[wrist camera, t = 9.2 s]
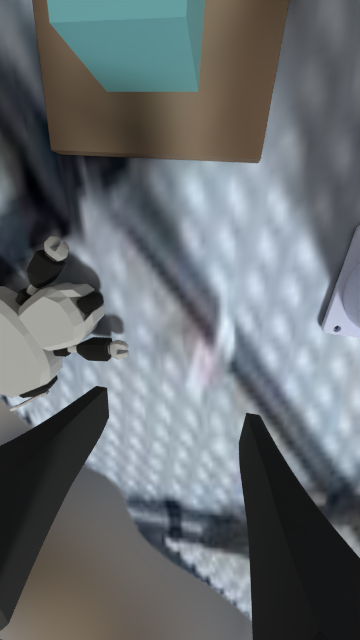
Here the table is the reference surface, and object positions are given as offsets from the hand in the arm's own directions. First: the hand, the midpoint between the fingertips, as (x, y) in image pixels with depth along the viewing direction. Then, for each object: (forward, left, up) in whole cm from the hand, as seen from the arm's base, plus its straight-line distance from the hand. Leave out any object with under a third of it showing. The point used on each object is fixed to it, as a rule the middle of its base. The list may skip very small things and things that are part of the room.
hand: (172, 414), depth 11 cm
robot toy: (+14, +1, -10) cm, 17 cm away
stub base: (+4, -19, -9) cm, 22 cm away
